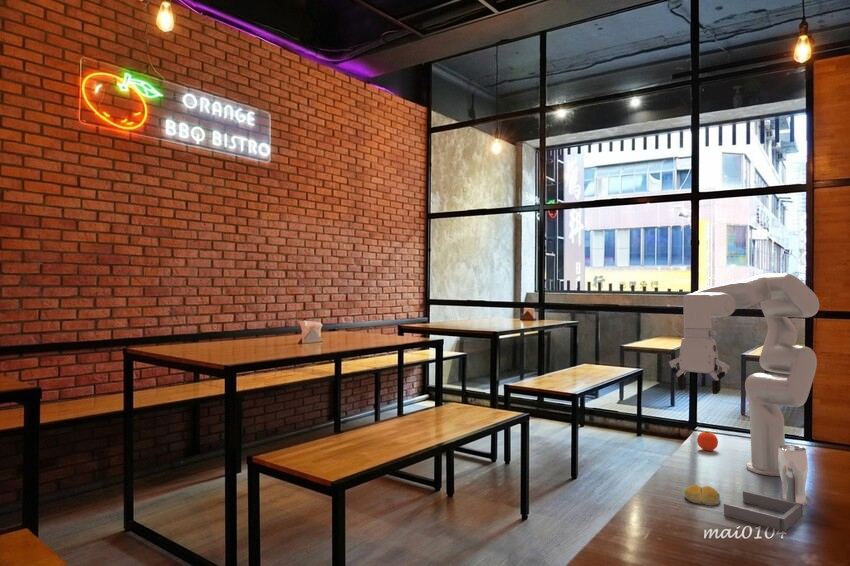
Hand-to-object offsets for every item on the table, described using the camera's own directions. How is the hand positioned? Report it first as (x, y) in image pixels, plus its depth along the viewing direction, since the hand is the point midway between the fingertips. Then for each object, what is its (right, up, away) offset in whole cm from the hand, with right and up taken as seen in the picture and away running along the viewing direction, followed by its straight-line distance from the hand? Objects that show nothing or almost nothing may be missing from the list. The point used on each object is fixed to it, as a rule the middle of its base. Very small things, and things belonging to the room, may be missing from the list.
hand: (698, 391), depth 165 cm
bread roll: (-3, -30, -8) cm, 31 cm away
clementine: (+22, -30, +38) cm, 53 cm away
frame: (+7, -29, -20) cm, 36 cm away
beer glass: (+21, -29, -12) cm, 37 cm away
